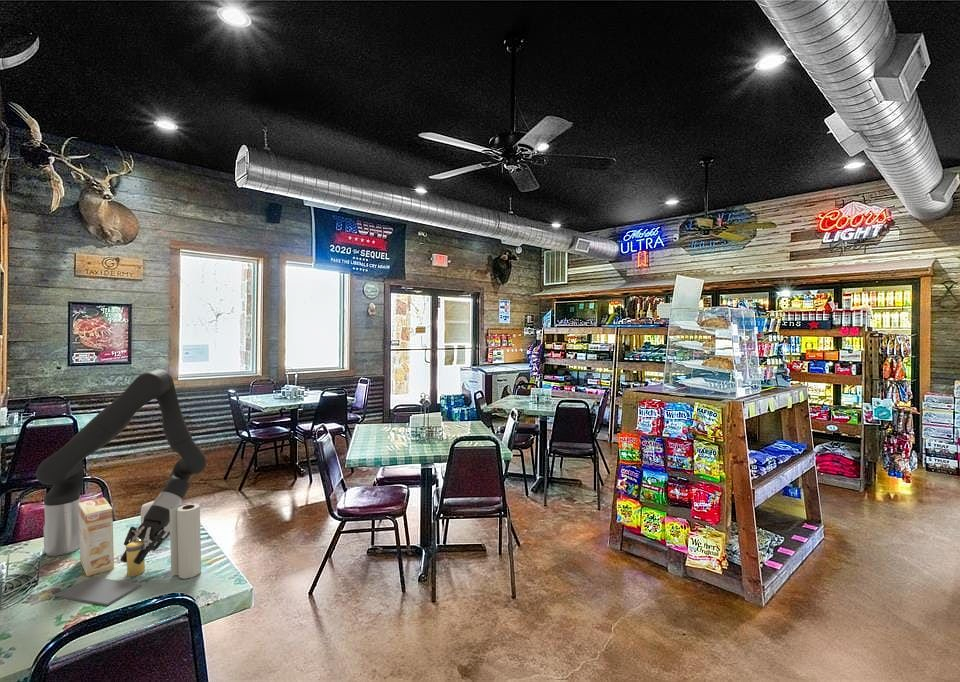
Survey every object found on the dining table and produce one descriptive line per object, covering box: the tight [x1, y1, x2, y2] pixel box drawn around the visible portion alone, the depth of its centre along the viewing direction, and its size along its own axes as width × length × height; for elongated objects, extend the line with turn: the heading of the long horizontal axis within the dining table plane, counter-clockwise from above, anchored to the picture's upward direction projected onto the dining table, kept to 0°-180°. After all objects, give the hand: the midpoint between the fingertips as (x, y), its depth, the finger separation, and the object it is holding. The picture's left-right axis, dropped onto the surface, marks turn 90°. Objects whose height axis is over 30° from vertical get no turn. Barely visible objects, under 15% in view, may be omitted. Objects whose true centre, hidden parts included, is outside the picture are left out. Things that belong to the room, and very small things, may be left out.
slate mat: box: [54, 575, 142, 607], centre depth 136 cm, size 19×10×1 cm, turn 77°
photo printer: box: [140, 500, 170, 533], centre depth 174 cm, size 10×4×12 cm, turn 123°
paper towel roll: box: [169, 503, 202, 580], centre depth 146 cm, size 7×6×21 cm
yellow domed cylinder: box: [125, 541, 146, 577], centre depth 147 cm, size 5×5×9 cm
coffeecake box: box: [78, 497, 115, 577], centre depth 152 cm, size 15×7×20 cm, turn 47°
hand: (130, 562), depth 145 cm, fingers closed on yellow domed cylinder, 4 cm apart
